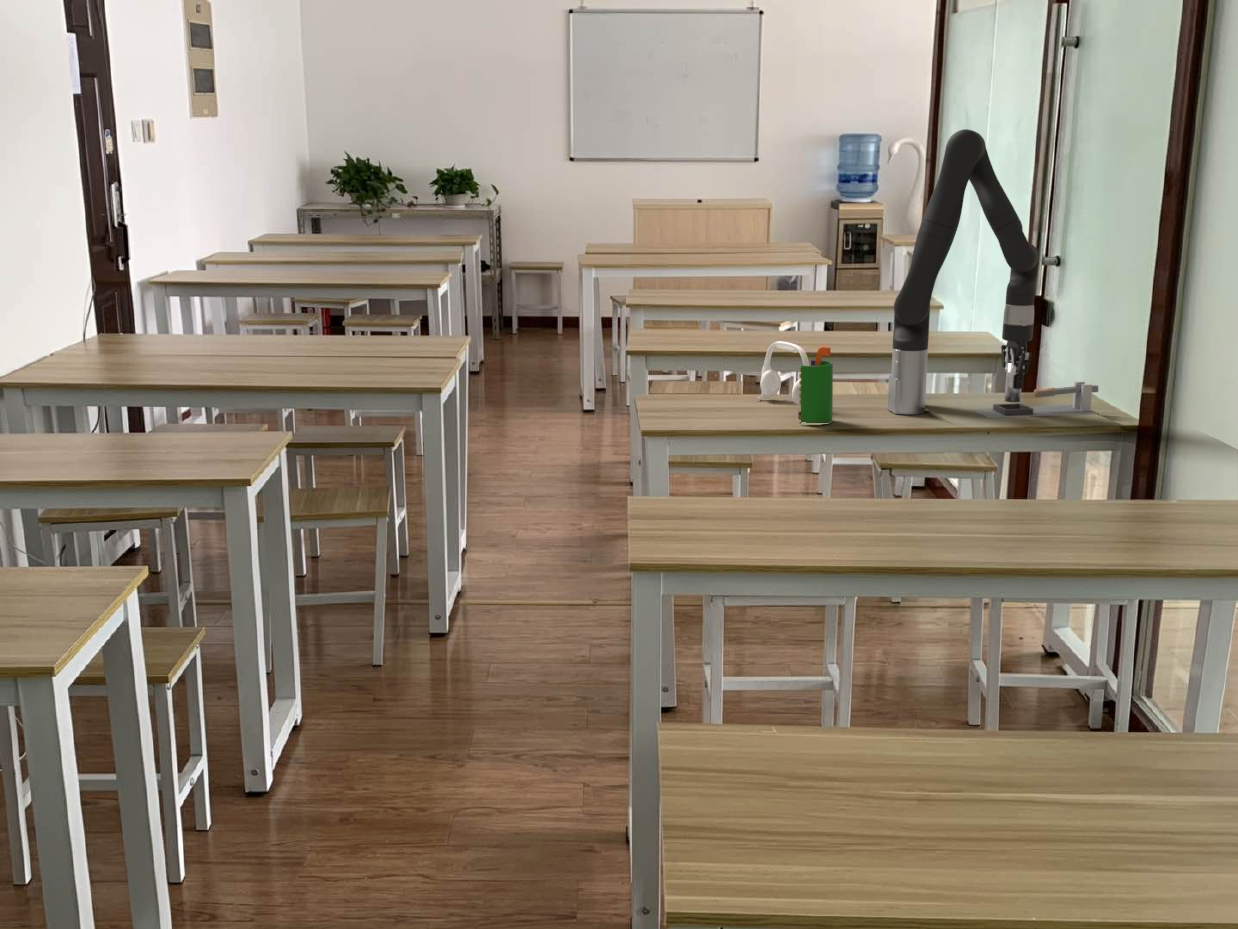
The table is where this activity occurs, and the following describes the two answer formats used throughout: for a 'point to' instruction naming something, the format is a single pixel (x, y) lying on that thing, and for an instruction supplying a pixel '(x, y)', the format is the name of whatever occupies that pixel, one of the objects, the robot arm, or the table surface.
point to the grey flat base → (1044, 407)
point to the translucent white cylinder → (1011, 386)
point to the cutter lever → (1060, 391)
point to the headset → (771, 378)
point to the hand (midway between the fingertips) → (1013, 386)
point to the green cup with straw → (816, 389)
